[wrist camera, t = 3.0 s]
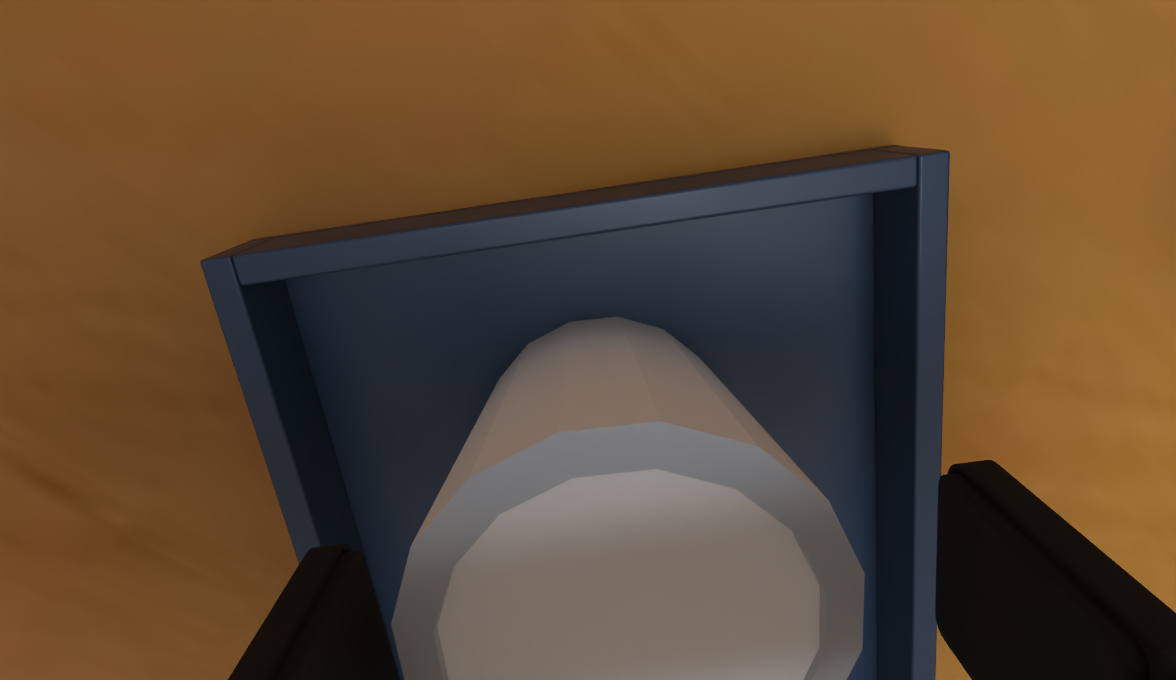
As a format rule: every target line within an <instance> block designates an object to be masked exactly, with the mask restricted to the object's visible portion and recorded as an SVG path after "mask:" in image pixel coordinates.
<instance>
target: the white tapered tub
mask: <svg viewBox="0 0 1176 680" xmlns="http://www.w3.org/2000/svg"><path fill="white" fill-rule="evenodd" d="M864 581H865V573H864V571H863V569H862V567H861V565H860V563H859V561H858V559H857V557H856V555H855V553H854V551H853V549H852V547H851V545H850V542H849V540H848V538H847V536H846V534H845V532H844V530H843V528H842V526H841V524H840V522H839V520H838V518H837V516H836V514H835V512H834V510H833V508H832V506H831V504H830V502H829V500H828V499H827V498H826V497H825V496H824V495H823V494H822V493H821V492H820V490H819V489H818V488H817V487H816V486H815V485H814V484H813V483H812V482H811V481H810V479H809V478H808V477H807V476H806V475H805V474H804V473H803V472H802V471H801V469H800V468H799V467H798V466H797V465H796V464H795V463H794V462H793V461H792V459H791V458H790V457H789V456H788V455H787V454H786V453H785V452H784V451H783V450H782V448H781V447H780V446H779V445H778V444H777V443H776V442H775V441H774V440H773V438H772V437H771V436H770V435H769V434H768V433H767V432H766V431H765V430H764V429H763V427H762V426H761V425H760V424H759V423H758V422H757V421H756V420H755V419H754V417H753V416H752V415H751V414H750V413H749V412H748V411H747V410H746V409H745V407H744V406H743V405H742V404H741V403H740V402H739V401H738V400H737V399H736V398H735V396H734V395H733V394H732V393H731V392H730V391H729V390H728V389H727V388H726V386H725V385H724V384H723V383H722V382H721V381H720V380H719V379H718V378H717V377H716V375H715V374H714V373H713V372H712V371H711V370H710V369H709V368H708V367H707V365H706V364H705V363H704V362H703V361H702V360H701V359H700V358H699V357H698V356H697V355H696V354H694V353H693V352H692V351H691V350H689V349H688V348H687V347H686V346H684V345H683V344H682V343H680V342H679V341H678V340H677V339H675V338H674V337H673V336H672V335H670V334H669V333H668V332H667V331H665V330H664V329H661V328H658V327H654V326H650V325H647V324H643V323H640V322H636V321H632V320H629V319H625V318H622V317H608V318H599V319H590V320H581V321H572V322H568V323H566V324H565V325H563V326H561V327H559V328H557V329H555V330H553V331H551V332H549V333H548V334H546V335H544V336H542V337H540V338H538V339H536V340H534V341H532V342H531V343H529V344H527V346H526V347H525V348H524V349H523V351H522V352H521V353H520V354H519V355H518V357H517V358H516V359H515V360H514V361H513V363H512V364H511V365H510V366H509V368H508V369H507V370H506V371H505V372H504V374H503V375H502V376H501V377H500V379H499V380H498V382H497V384H496V386H495V388H494V390H493V392H492V393H491V395H490V397H489V399H488V401H487V403H486V405H485V407H484V409H483V410H482V412H481V414H480V416H479V418H478V420H477V422H476V424H475V426H474V428H473V429H472V431H471V433H470V435H469V437H468V439H467V441H466V443H465V445H464V446H463V448H462V450H461V452H460V454H459V456H458V458H457V460H456V462H455V464H454V465H453V467H452V469H451V471H450V473H449V475H448V477H447V479H446V481H445V482H444V484H443V486H442V488H441V490H440V492H439V494H438V496H437V498H436V499H435V501H434V503H433V505H432V507H431V509H430V511H429V513H428V515H427V517H426V518H425V520H424V522H423V524H422V526H421V528H420V530H419V532H418V534H417V535H416V537H415V539H414V541H413V543H412V545H411V547H410V551H409V555H408V559H407V563H406V567H405V571H404V575H403V579H402V583H401V587H400V591H399V595H398V599H397V603H396V607H395V611H394V615H393V619H392V623H391V626H392V630H393V634H394V639H395V643H396V647H397V651H398V655H399V659H400V663H401V668H402V672H403V676H404V680H847V678H848V676H849V674H850V672H851V670H852V669H853V667H854V665H855V663H856V661H857V659H858V657H859V655H860V653H861V651H862V647H863V614H864Z"/></svg>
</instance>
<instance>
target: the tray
mask: <svg viewBox="0 0 1176 680" xmlns="http://www.w3.org/2000/svg"><path fill="white" fill-rule="evenodd" d="M949 159H950V153H949V151H946V150H937V149H926V148H916V147H905V146H898V145H890V146H884V147H877V148H870V149H863V150H856V151H850V152H843V153H836V154H829V155H823V156H816V157H809V158H802V159H795V160H789V161H782V162H775V163H768V164H761V165H755V166H748V167H741V168H734V169H728V170H721V171H714V172H707V173H700V174H694V175H687V176H680V177H673V178H667V179H660V180H653V181H646V182H639V183H633V184H626V185H619V186H612V187H606V188H599V189H592V190H585V191H578V192H572V193H565V194H558V195H551V196H544V197H538V198H531V199H524V200H517V201H511V202H504V203H497V204H490V205H483V206H477V207H470V208H463V209H456V210H450V211H443V212H436V213H429V214H422V215H416V216H409V217H402V218H395V219H388V220H382V221H375V222H368V223H361V224H355V225H348V226H341V227H334V228H327V229H321V230H314V231H307V232H300V233H294V234H287V235H280V236H273V237H266V238H260V239H253V240H250V241H248V242H246V243H243V244H241V245H238V246H236V247H233V248H231V249H228V250H226V251H223V252H221V253H218V254H216V255H213V256H211V257H208V258H206V259H203V260H201V262H200V263H201V266H202V269H203V272H204V275H205V279H206V282H207V285H208V288H209V291H210V294H211V297H212V300H213V303H214V306H215V309H216V312H217V315H218V318H219V321H220V324H221V327H222V330H223V333H224V336H225V339H226V342H227V346H228V349H229V352H230V355H231V358H232V361H233V364H234V367H235V370H236V373H237V376H238V379H239V382H240V385H241V388H242V391H243V394H244V397H245V400H246V403H247V406H248V409H249V413H250V416H251V419H252V422H253V425H254V428H255V431H256V434H257V437H258V440H259V443H260V446H261V449H262V452H263V455H264V458H265V461H266V464H267V467H268V470H269V473H270V476H271V480H272V483H273V486H274V489H275V492H276V495H277V498H278V501H279V504H280V507H281V510H282V513H283V516H284V519H285V522H286V525H287V528H288V531H289V534H290V537H291V540H292V544H293V547H294V550H295V553H296V556H297V559H298V562H299V564H300V563H301V561H302V559H303V558H304V556H305V554H306V553H307V552H308V551H309V549H311V548H313V547H321V546H328V545H336V544H344V543H346V544H348V545H349V546H350V547H351V548H352V550H353V551H360V552H361V553H362V554H363V556H364V559H365V562H366V566H367V569H368V573H369V576H370V579H371V583H372V586H373V590H374V593H375V597H376V600H377V604H378V607H379V610H380V614H381V617H382V621H383V624H384V628H385V631H386V635H387V638H388V641H389V645H390V648H391V652H392V655H393V659H394V662H395V666H396V669H397V672H398V676H399V680H404V676H403V672H402V668H401V663H400V659H399V655H398V651H397V647H396V643H395V639H394V634H393V630H392V626H391V623H392V619H393V615H394V611H395V607H396V603H397V599H398V595H399V591H400V587H401V583H402V579H403V575H404V571H405V567H406V563H407V559H408V555H409V551H410V547H411V545H412V543H413V541H414V539H415V537H416V535H417V534H418V532H419V530H420V528H421V526H422V524H423V522H424V520H425V518H426V517H427V515H428V513H429V511H430V509H431V507H432V505H433V503H434V501H435V499H436V498H437V496H438V494H439V492H440V490H441V488H442V486H443V484H444V482H445V481H446V479H447V477H448V475H449V473H450V471H451V469H452V467H453V465H454V464H455V462H456V460H457V458H458V456H459V454H460V452H461V450H462V448H463V446H464V445H465V443H466V441H467V439H468V437H469V435H470V433H471V431H472V429H473V428H474V426H475V424H476V422H477V420H478V418H479V416H480V414H481V412H482V410H483V409H484V407H485V405H486V403H487V401H488V399H489V397H490V395H491V393H492V392H493V390H494V388H495V386H496V384H497V382H498V380H499V379H500V377H501V376H502V375H503V374H504V372H505V371H506V370H507V369H508V368H509V366H510V365H511V364H512V363H513V361H514V360H515V359H516V358H517V357H518V355H519V354H520V353H521V352H522V351H523V349H524V348H525V347H526V346H527V344H529V343H531V342H532V341H534V340H536V339H538V338H540V337H542V336H544V335H546V334H548V333H549V332H551V331H553V330H555V329H557V328H559V327H561V326H563V325H565V324H566V323H568V322H572V321H581V320H590V319H599V318H608V317H622V318H625V319H629V320H632V321H636V322H640V323H643V324H647V325H650V326H654V327H658V328H661V329H664V330H665V331H667V332H668V333H669V334H670V335H672V336H673V337H674V338H675V339H677V340H678V341H679V342H680V343H682V344H683V345H684V346H686V347H687V348H688V349H689V350H691V351H692V352H693V353H694V354H696V355H697V356H698V357H699V358H700V359H701V360H702V361H703V362H704V363H705V364H706V365H707V367H708V368H709V369H710V370H711V371H712V372H713V373H714V374H715V375H716V377H717V378H718V379H719V380H720V381H721V382H722V383H723V384H724V385H725V386H726V388H727V389H728V390H729V391H730V392H731V393H732V394H733V395H734V396H735V398H736V399H737V400H738V401H739V402H740V403H741V404H742V405H743V406H744V407H745V409H746V410H747V411H748V412H749V413H750V414H751V415H752V416H753V417H754V419H755V420H756V421H757V422H758V423H759V424H760V425H761V426H762V427H763V429H764V430H765V431H766V432H767V433H768V434H769V435H770V436H771V437H772V438H773V440H774V441H775V442H776V443H777V444H778V445H779V446H780V447H781V448H782V450H783V451H784V452H785V453H786V454H787V455H788V456H789V457H790V458H791V459H792V461H793V462H794V463H795V464H796V465H797V466H798V467H799V468H800V469H801V471H802V472H803V473H804V474H805V475H806V476H807V477H808V478H809V479H810V481H811V482H812V483H813V484H814V485H815V486H816V487H817V488H818V489H819V490H820V492H821V493H822V494H823V495H824V496H825V497H826V498H827V499H828V500H829V502H830V504H831V506H832V508H833V510H834V512H835V514H836V516H837V518H838V520H839V522H840V524H841V526H842V528H843V530H844V532H845V534H846V536H847V538H848V540H849V542H850V545H851V547H852V549H853V551H854V553H855V555H856V557H857V559H858V561H859V563H860V565H861V567H862V569H863V571H864V573H865V581H864V614H863V647H862V651H861V653H860V655H859V657H858V659H857V661H856V663H855V665H854V667H853V669H852V670H851V672H850V674H849V676H848V678H847V680H935V672H936V636H937V622H936V617H935V595H936V555H937V516H938V483H939V479H940V477H941V452H942V415H943V379H944V342H945V305H946V269H947V232H948V195H949Z"/></svg>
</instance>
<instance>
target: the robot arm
mask: <svg viewBox="0 0 1176 680" xmlns="http://www.w3.org/2000/svg"><path fill="white" fill-rule="evenodd" d="M935 617H936V622H937V625H938V628H939V631H940V633H941V635H942V637H943V638H944V640H945V641H946V643H947V644H948V646H949V647H950V649H951V650H952V652H953V653H954V654H955V656H956V657H957V659H958V660H959V662H960V663H961V665H962V666H963V667H964V669H965V670H966V672H967V673H968V675H969V676H970V677H971V679H972V680H1176V613H1175V612H1174V611H1172V610H1171V609H1170V608H1169V607H1168V606H1166V605H1165V604H1164V603H1163V602H1162V601H1161V600H1159V599H1158V598H1157V597H1156V596H1155V595H1153V594H1152V593H1151V592H1150V591H1149V590H1147V589H1146V588H1145V587H1144V586H1143V585H1141V584H1140V583H1139V582H1138V581H1137V580H1135V579H1134V578H1133V577H1132V576H1131V575H1130V574H1128V573H1127V572H1126V571H1125V570H1124V569H1122V568H1121V567H1120V566H1119V565H1118V564H1116V563H1115V562H1114V561H1113V560H1112V559H1110V558H1109V557H1108V556H1107V555H1106V554H1104V553H1103V552H1102V551H1101V550H1100V549H1099V548H1097V547H1096V546H1095V545H1094V544H1093V543H1091V542H1090V541H1089V540H1088V539H1087V538H1085V537H1084V536H1083V535H1082V534H1081V533H1079V532H1078V531H1077V530H1076V529H1075V528H1073V527H1072V526H1071V525H1070V524H1069V523H1067V522H1066V521H1065V520H1064V519H1063V518H1062V517H1060V516H1059V515H1058V514H1057V513H1056V512H1054V511H1053V510H1052V509H1051V508H1050V507H1048V506H1047V505H1046V504H1045V503H1044V502H1042V501H1041V500H1040V499H1039V498H1038V497H1036V496H1035V495H1034V494H1033V493H1032V492H1031V491H1029V490H1028V489H1027V488H1026V487H1025V486H1023V485H1022V484H1021V483H1020V482H1019V481H1017V480H1016V479H1015V478H1014V477H1013V476H1011V475H1010V474H1009V473H1008V472H1007V471H1005V470H1004V469H1003V468H1002V467H1001V466H1000V465H998V464H997V463H996V462H994V461H992V460H984V461H976V462H968V463H960V464H953V465H952V466H951V467H950V469H949V471H948V475H942V476H941V477H940V479H939V483H938V516H937V555H936V595H935ZM228 680H399V676H398V672H397V669H396V666H395V662H394V659H393V655H392V652H391V648H390V645H389V641H388V638H387V635H386V631H385V628H384V624H383V621H382V617H381V614H380V610H379V607H378V604H377V600H376V597H375V593H374V590H373V586H372V583H371V579H370V576H369V573H368V569H367V566H366V562H365V559H364V556H363V554H362V553H361V552H360V551H353V550H352V548H351V547H350V546H349V545H348V544H346V543H344V544H336V545H328V546H321V547H313V548H311V549H309V551H308V552H307V553H306V554H305V556H304V558H303V559H302V561H301V563H300V564H299V566H298V567H297V569H296V571H295V572H294V574H293V575H292V577H291V579H290V580H289V582H288V584H287V585H286V587H285V588H284V590H283V592H282V593H281V595H280V596H279V598H278V600H277V601H276V603H275V605H274V606H273V608H272V609H271V611H270V613H269V614H268V616H267V617H266V619H265V621H264V622H263V624H262V625H261V627H260V629H259V630H258V632H257V634H256V635H255V637H254V638H253V640H252V642H251V643H250V645H249V646H248V648H247V650H246V651H245V653H244V655H243V656H242V658H241V659H240V661H239V663H238V664H237V666H236V667H235V669H234V671H233V672H232V674H231V676H230V677H229V679H228Z"/></svg>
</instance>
